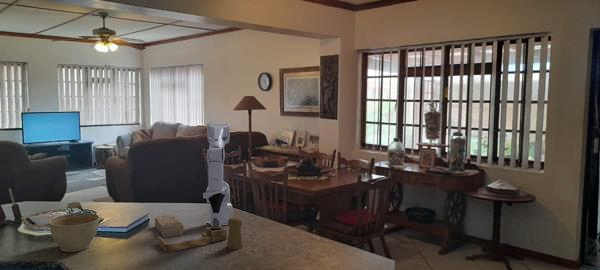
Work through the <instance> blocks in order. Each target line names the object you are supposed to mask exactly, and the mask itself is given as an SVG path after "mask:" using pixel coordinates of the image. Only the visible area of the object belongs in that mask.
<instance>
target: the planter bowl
mask: <svg viewBox="0 0 600 270" xmlns="http://www.w3.org/2000/svg"><path fill="white" fill-rule="evenodd" d="M99 221H100V216H99V215H98V214H97V213H91V212H90V213H89V212H75V213H68V214H63V215H59V216H55V217H52V218H51V219H49V221H48V224H49V229H50V233H51V236H52V239H53V241H54V242H55V243H56V245H58V246H59V247H60V251H62V252H67V253H73V252H74V253H75V252H80V251H84V250H87V249H88V248H89V247H91V242H92V241H93V240H94V238H95V237H96V235H97V232H98V228H99Z"/></svg>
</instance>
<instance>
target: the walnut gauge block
mask: <svg viewBox="0 0 600 270" xmlns="http://www.w3.org/2000/svg"><path fill="white" fill-rule="evenodd" d="M205 234H207V235H208V236H209V237H211V243H215V242H220V241H226V240H227V229H226V228H225V227H223V226H219V230H215V231H213V226H211V227H210V226H209V227H205Z"/></svg>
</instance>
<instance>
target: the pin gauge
mask: <svg viewBox="0 0 600 270" xmlns="http://www.w3.org/2000/svg"><path fill="white" fill-rule="evenodd" d="M212 227H213V231H215V230H219V218H213V226H212Z"/></svg>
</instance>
